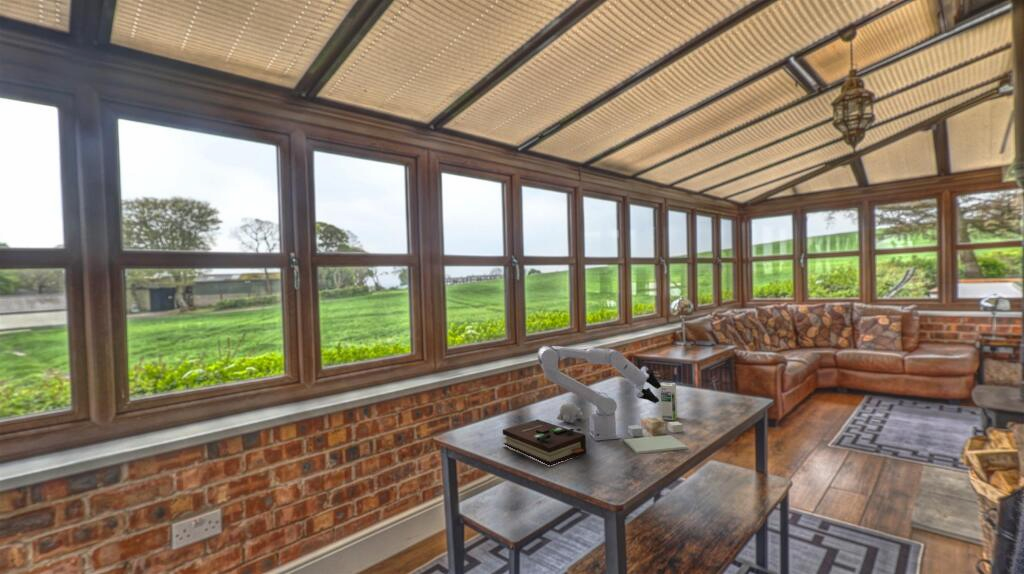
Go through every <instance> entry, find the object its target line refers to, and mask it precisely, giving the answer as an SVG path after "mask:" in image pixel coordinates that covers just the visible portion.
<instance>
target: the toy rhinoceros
mask: <svg viewBox="0 0 1024 574" xmlns="http://www.w3.org/2000/svg"><path fill="white" fill-rule="evenodd" d="M582 415H583V412H582V407H578V406H577V405H576V404H575V403H574V402H572V401H564V402H562V403H561V405H560V407H559V413H558V414H557V416H556V419H557V420H559V421H563V422H565V423H568V424H574V419H576V420H577V419H579V420H580V419H582Z"/></svg>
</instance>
